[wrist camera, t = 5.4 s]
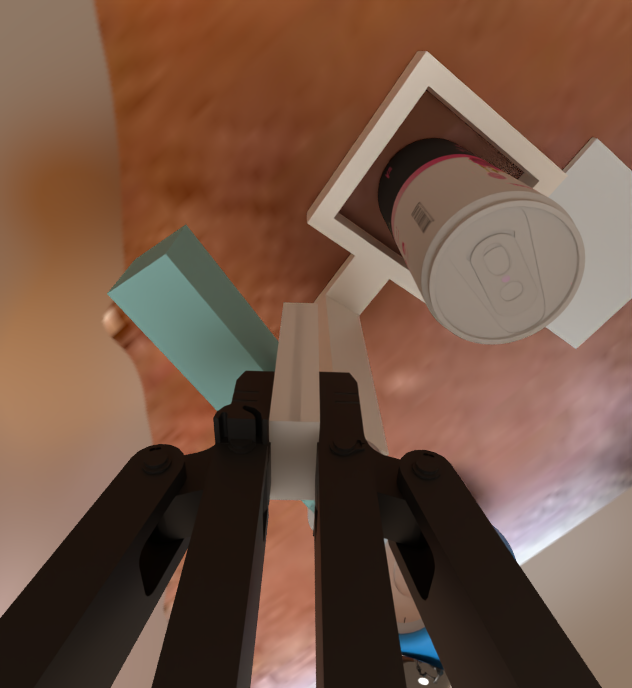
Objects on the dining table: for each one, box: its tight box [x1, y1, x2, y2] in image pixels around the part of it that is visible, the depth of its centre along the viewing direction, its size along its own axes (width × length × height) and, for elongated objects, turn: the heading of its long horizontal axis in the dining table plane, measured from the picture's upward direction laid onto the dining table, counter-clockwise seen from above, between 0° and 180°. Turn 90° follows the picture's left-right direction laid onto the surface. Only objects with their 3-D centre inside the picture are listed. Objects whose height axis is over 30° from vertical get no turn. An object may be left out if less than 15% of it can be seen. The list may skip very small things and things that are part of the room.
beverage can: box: [378, 138, 585, 344], centre depth 26 cm, size 6×7×15 cm
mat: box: [546, 137, 632, 349], centre depth 35 cm, size 11×11×1 cm
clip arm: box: [107, 225, 381, 530], centre depth 20 cm, size 4×15×3 cm, turn 33°
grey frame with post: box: [307, 51, 568, 456], centre depth 28 cm, size 11×18×16 cm, turn 145°
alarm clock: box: [384, 525, 516, 688], centre depth 42 cm, size 13×6×15 cm, turn 137°
